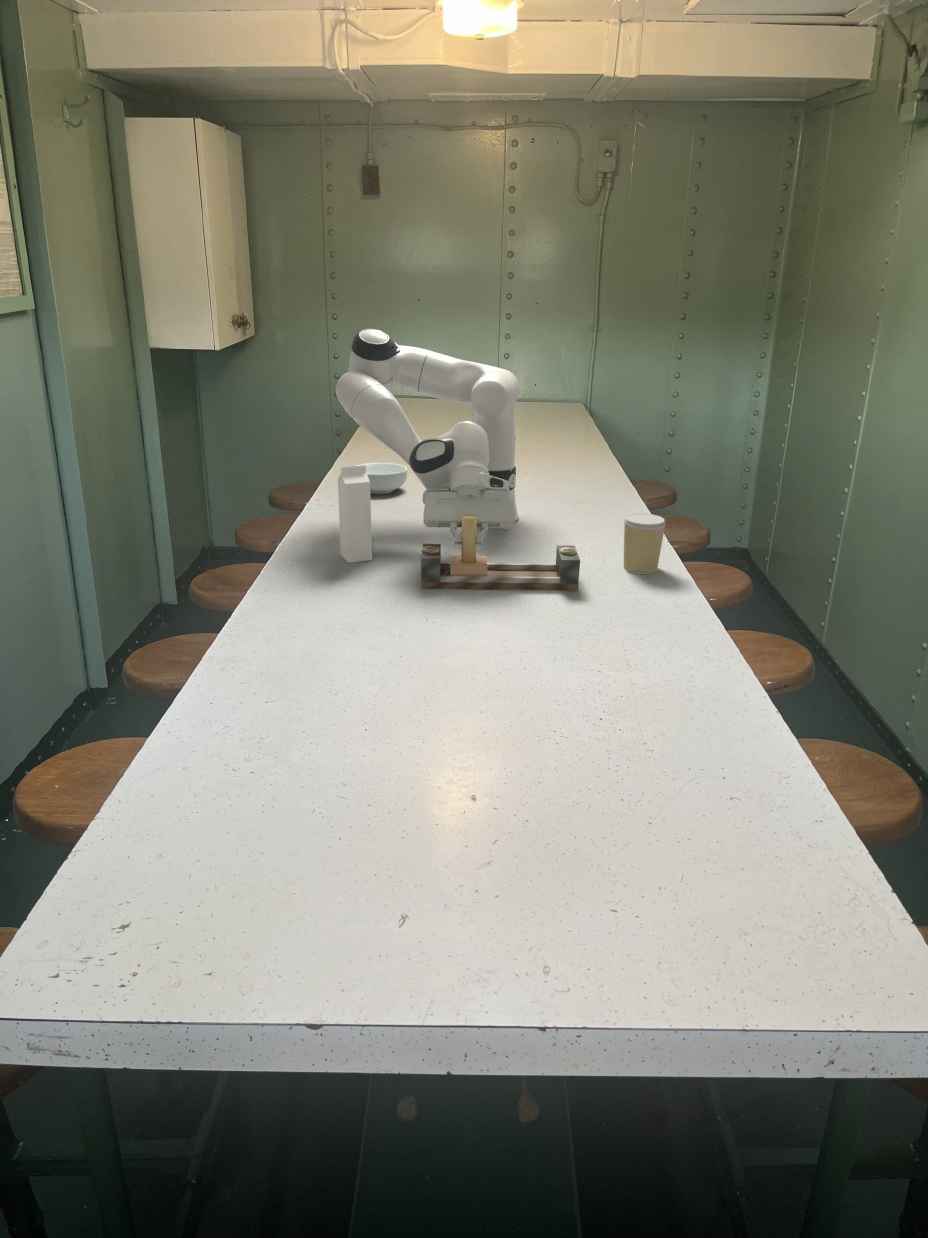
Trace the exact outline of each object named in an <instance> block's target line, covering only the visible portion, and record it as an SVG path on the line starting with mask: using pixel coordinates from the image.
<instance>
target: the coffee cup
mask: <svg viewBox="0 0 928 1238" xmlns="http://www.w3.org/2000/svg"><path fill="white" fill-rule="evenodd" d="M623 524H624V527H623V528H624V529H623V530H624V531H623V532H624V533H623V569H624V570H625V571H627V572H629V573H633V574H638V575H649V574H653V573H656V572H657V571H658V567H659V561H660V555H661V552H662V551H661V550H662V545H663V540H664V539H663V538H664V533H665V527H666V524H667V523H666V520H665V518H663V517H662V516H660V515H656V514H652V513H631V514H629V515H627V516H625V518H624V519H623Z"/></svg>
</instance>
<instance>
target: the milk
mask: <svg viewBox="0 0 928 1238" xmlns="http://www.w3.org/2000/svg"><path fill="white" fill-rule="evenodd" d="M337 489H338V490H337V491H338V496H337V497H338V513H339V515H338V516H339V517H338V518H339V535H340V536H339V538H340V542H339V543H340V556H341V557H342V558H343V559H344V560H345V562H347V563H348V564H350V563H351V564H352V563H360V562H367V561H373V546H372V545H373V541H372V540H373V539H372V508H371V507H372V505H371V504H372V503H371V498H372V497H371V493H370V480H369V478H368V475H367V473H366V466H365V465H362V466H357V465H353V466H341V468H340V475H339V476H338V477H337Z"/></svg>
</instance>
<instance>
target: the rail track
mask: <svg viewBox="0 0 928 1238" xmlns="http://www.w3.org/2000/svg"><path fill="white" fill-rule="evenodd" d="M441 546H442V544H441V543H422V549H421V554H420V555H421V556H420V586H421V588H420V589H422V590H470V591H475V590H477V591H478V590H481V591H482V590H484V591H486V590H487V591H555V592H556V591H561V592H563V591H564V592H565V591H566V592H567V591H568V592H569V591H571V592H573V591H575V592H577V591H578V592H579V583H580V582H579V581H580V567H581V559H580V556H579V554H578V550H577V548H576V545H561V544H560V545H559V544H558V545H557V544H556V551H555V553H556V555H555V563H515V562H514V563H508V562H507V563H501V562H499V563H497V562H491V563H490V562H487V576H450V562H442V559H441V558H442V547H441Z"/></svg>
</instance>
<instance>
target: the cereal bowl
mask: <svg viewBox="0 0 928 1238" xmlns="http://www.w3.org/2000/svg"><path fill="white" fill-rule="evenodd" d="M362 465H365V466H366V473H367V475H368V478H369V480H370V495H372V494H373V495H384V494H386V495H387V494H390V492H391V493H392V492H393V491H394V490H397V489H399V488H401V487H402V486H404V484H405V483H406V480H407V478H408V467H407V466H405V465H403V464H398V463H394V462H392V463H391V462H370V463H362V464H358V465H356V466H362Z"/></svg>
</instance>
